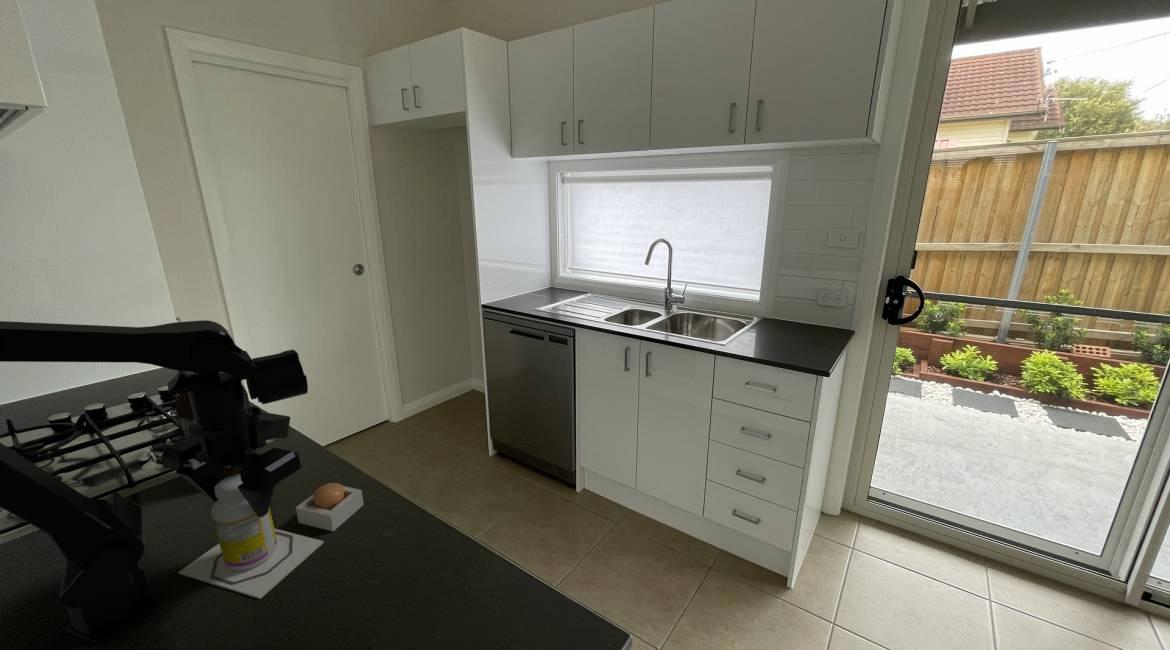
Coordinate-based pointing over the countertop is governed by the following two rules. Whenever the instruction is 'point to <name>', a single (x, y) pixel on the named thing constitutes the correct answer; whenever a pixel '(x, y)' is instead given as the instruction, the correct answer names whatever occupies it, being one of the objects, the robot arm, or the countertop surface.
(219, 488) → the supplement bottle
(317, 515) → the button housing
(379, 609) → the countertop surface
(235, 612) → the countertop surface
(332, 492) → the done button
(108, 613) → the robot arm
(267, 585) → the paper sheet
